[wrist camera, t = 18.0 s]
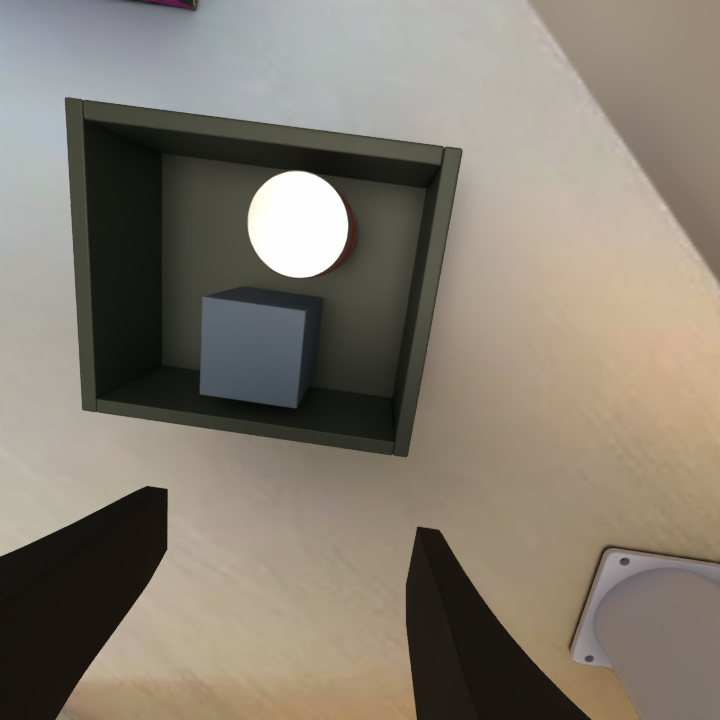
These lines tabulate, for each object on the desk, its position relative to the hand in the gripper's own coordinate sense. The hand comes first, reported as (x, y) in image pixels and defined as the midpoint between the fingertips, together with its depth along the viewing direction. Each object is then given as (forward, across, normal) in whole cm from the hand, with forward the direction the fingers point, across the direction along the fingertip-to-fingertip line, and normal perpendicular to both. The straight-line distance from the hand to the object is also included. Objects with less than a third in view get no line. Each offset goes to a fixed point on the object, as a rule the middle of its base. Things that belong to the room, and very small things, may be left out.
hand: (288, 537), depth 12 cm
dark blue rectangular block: (+10, +3, -4) cm, 11 cm away
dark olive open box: (+10, +3, -6) cm, 12 cm away
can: (+10, +2, -8) cm, 13 cm away
